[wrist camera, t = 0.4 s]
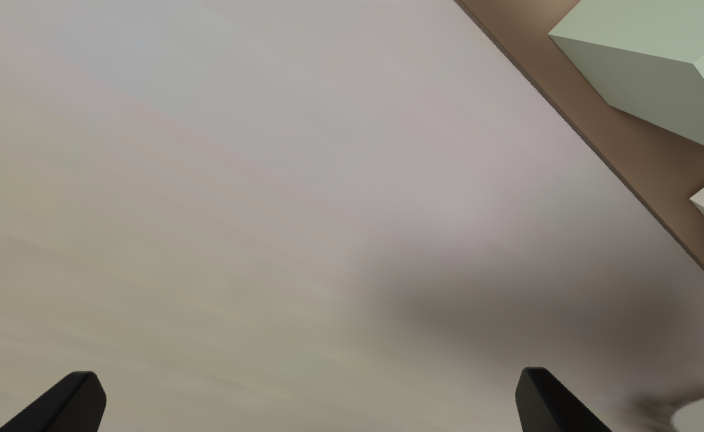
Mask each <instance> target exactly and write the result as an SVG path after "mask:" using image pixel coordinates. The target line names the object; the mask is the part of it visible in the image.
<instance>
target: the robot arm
mask: <svg viewBox="0 0 704 432" xmlns="http://www.w3.org/2000/svg"><path fill="white" fill-rule="evenodd" d="M515 399H516V405H517V409H518V413H519V417H520V421H521V425H522V430H523V432H612V431H611V430H610V429H609V428H608V427H607V426H606V425H605V424H604V423H603V422H602V421H601V420H599V419H598V418H597V417H596V416H595V415H594V414H593V413H592V412H591V411H590V410H589V409H588V408H587V407H586V406H585V405H584V404H583V403H582V402H581V401H580V400H578V399H577V398H576V397H575V396H574V395H573V394H572V393H571V392H570V391H569V390H568V389H567V388H566V387H565V386H564V385H563V384H562V383H561V382H560V381H559V380H557V379H556V378H555V377H554V376H553V375H552V374H551V373H550V372H549V371H548V370H547V369H545V368H543V367H525V368H524V369H523V371H522V373H521V376H520V379H519V382H518V385H517V388H516V393H515ZM105 407H106V394H105V392H104V390H103V387H102V385H101V383H100V381H99V379H98V377H97V375H96V374H95V373H94V372H92V371H75V372H72V373H70V374H68V375H67V376H65V377H64V378H63V379H62V380H60V381H59V382H58V383H57V384H55V385H54V386H53V387H52V388H50V389H49V390H48V391H46V392H45V393H44V394H43V395H41V396H40V397H39V398H38V399H36V400H35V401H34V402H32V403H31V404H30V405H29V406H27V407H26V408H25V409H24V410H22V411H21V412H20V413H19V414H17V415H16V416H15V417H13V418H12V419H11V420H10V421H8V422H7V423H6V424H5V425H3V426H2V427H1V428H0V432H97V431H98V428H99V425H100V422H101V419H102V416H103V413H104V410H105Z"/></svg>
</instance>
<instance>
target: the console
mask: <svg viewBox="0 0 704 432" xmlns="http://www.w3.org/2000/svg"><path fill="white" fill-rule="evenodd" d="M454 1H455V2H456V3H457V4H458V5H459V6H460V7H461V8H462V9H463V11H464V12H465V13H466V14H467V15H468V16H469V17H470V18H471V19H472V20H473V21H474V22H475V24H476V25H477V26H478V27H479V28H480V29H481V30H482V31H483V32H484V33H485V34H486V35H487V36H488V38H489V39H490V40H491V41H492V42H493V43H494V44H495V45H496V46H497V47H498V48H499V49H500V51H501V52H502V53H503V54H504V55H505V56H506V57H507V58H508V59H509V60H510V61H511V62H512V64H513V65H514V66H515V67H516V68H517V69H518V70H519V71H520V72H521V73H522V74H523V75H524V76H525V78H526V79H527V80H528V81H529V82H530V83H531V84H532V85H533V86H534V87H535V88H536V89H537V91H538V92H539V93H540V94H541V95H542V96H543V97H544V98H545V99H546V100H547V101H548V102H549V104H550V105H551V106H552V107H553V108H554V109H555V110H556V111H557V112H558V113H559V114H560V115H561V116H562V118H563V119H564V120H565V121H566V122H567V123H568V124H569V125H570V126H571V127H572V128H573V129H574V131H575V132H576V133H577V134H578V135H579V136H580V137H581V138H582V139H583V140H584V141H585V142H586V144H587V145H588V146H589V147H590V148H591V149H592V150H593V151H594V152H595V153H596V154H597V155H598V156H599V158H600V159H601V160H602V161H603V162H604V163H605V164H606V165H607V166H608V167H609V168H610V169H611V171H612V172H613V173H614V174H615V175H616V176H617V177H618V178H619V179H620V180H621V181H622V182H623V184H624V185H625V186H626V187H627V188H628V189H629V190H630V191H631V192H632V193H633V194H634V195H635V196H636V198H637V199H638V200H639V201H640V202H641V203H642V204H643V205H644V206H645V207H646V208H647V209H648V211H649V212H650V213H651V214H652V215H653V216H654V217H655V218H656V219H657V220H658V221H659V222H660V224H661V225H662V226H663V227H664V228H665V229H666V230H667V231H668V232H669V233H670V234H671V235H672V236H673V238H674V239H675V240H676V241H677V242H678V243H679V244H680V245H681V246H682V247H683V248H684V249H685V251H686V252H687V253H688V254H689V255H690V256H691V257H692V258H693V259H694V260H695V261H696V262H697V264H698V265H699V266H700V267H701V268H702V269H703V270H704V215H703V214H702V213H701V212H700V210H699V209H698V208H697V207H696V206H695V205H694V203H693V202H692V201H691V200H690V199H689V198H691V197H692V196H693V195H695V194H696V193H698V192H699V191H700V190H702V189H703V188H704V145H702V144H700V143H697V142H695V141H692V140H690V139H688V138H685V137H683V136H681V135H678V134H676V133H674V132H671V131H669V130H667V129H664V128H662V127H660V126H657V125H655V124H653V123H650V122H648V121H646V120H643V119H641V118H638V117H636V116H634V115H631V114H629V113H627V112H624V111H622V110H620V109H617V108H615V107H613V106H610V105H608V104H607V102H606V101H605V100H604V99H603V98H602V97H601V95H600V94H599V93H598V92H597V91H596V90H595V88H594V87H593V86H592V85H591V84H590V83H589V81H588V80H587V79H586V78H585V77H584V76H583V74H582V73H581V72H580V71H579V70H578V69H577V67H576V66H575V65H574V64H573V63H572V62H571V60H570V59H569V58H568V57H567V56H566V55H565V54H564V52H563V51H562V50H561V49H560V48H559V47H558V45H557V44H556V43H555V42H554V41H553V40H552V38H551V37H550V36H549V35H548V33H549V32H550V31H551V30H552V29H553V28H554V27H555V26H556V25H557V24H558V23H559V22H560V21H561V20H562V19H563V18H564V17H565V16H566V15H567V14H568V13H569V12H570V11H571V10H572V9H573V8H574V7H575V6H576V5H577V4H578V3H579V2H580V1H581V0H454Z"/></svg>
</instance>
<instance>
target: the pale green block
mask: <svg viewBox="0 0 704 432" xmlns="http://www.w3.org/2000/svg"><path fill="white" fill-rule="evenodd" d="M548 35H549V36H550V37H551V38H552V40H553V41H554V42H555V43H556V44H557V45H558V47H559V48H560V49H561V50H562V51H563V52H564V54H565V55H566V56H567V57H568V58H569V59H570V60H571V62H572V63H573V64H574V65H575V66H576V67H577V69H578V70H579V71H580V72H581V73H582V74H583V76H584V77H585V78H586V79H587V80H588V81H589V83H590V84H591V85H592V86H593V87H594V88H595V90H596V91H597V92H598V93H599V94H600V95H601V97H602V98H603V99H604V100H605V101H606V102H607V104H608V105H610V106H613V107H615V108H617V109H620V110H622V111H624V112H627V113H629V114H631V115H634V116H636V117H638V118H641V119H643V120H646V121H648V122H650V123H653V124H655V125H657V126H660V127H662V128H664V129H667V130H669V131H671V132H674V133H676V134H678V135H681V136H683V137H685V138H688V139H690V140H692V141H695V142H697V143H700V144H702V145H704V0H581V1H580V2H579V3H578V4H577V5H576V6H575V7H574V8H573V9H572V10H571V11H570V12H569V13H568V14H567V15H566V16H565V17H564V18H563V19H562V20H561V21H560V22H559V23H558V24H557V25H556V26H555V27H554V28H553V29H552V30H551V31H550V32H549V33H548Z"/></svg>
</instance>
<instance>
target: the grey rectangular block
mask: <svg viewBox="0 0 704 432" xmlns="http://www.w3.org/2000/svg"><path fill="white" fill-rule="evenodd" d="M689 199H690V200H691V201H692V202H693V203H694V205H695V206H696V207H697V208H698V209H699V210H700V212H701V213H702V214H703V215H704V188H703V189H702V190H700V191H699V192H698V193H696V194H695V195H693V196H692V197H691V198H689Z"/></svg>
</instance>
